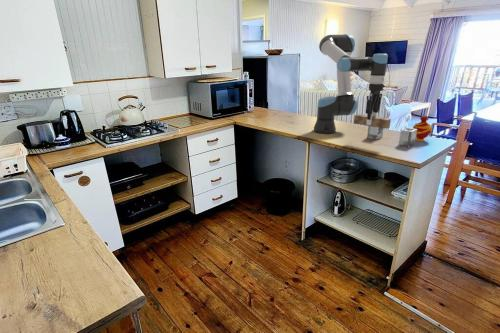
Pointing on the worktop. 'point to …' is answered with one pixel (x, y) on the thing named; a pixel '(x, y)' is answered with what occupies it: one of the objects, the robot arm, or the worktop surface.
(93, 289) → the worktop surface
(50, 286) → the worktop surface
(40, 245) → the worktop surface
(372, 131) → the bracket
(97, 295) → the worktop surface
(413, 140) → the bracket
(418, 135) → the potion bottle
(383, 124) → the rail
